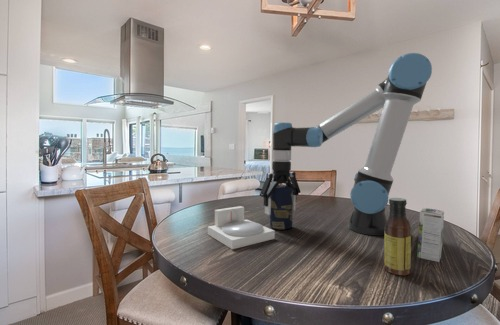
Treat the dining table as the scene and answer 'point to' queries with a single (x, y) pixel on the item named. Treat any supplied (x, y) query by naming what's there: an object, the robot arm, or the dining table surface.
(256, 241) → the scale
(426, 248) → the syrup box
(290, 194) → the canister
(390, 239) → the sauce bottle
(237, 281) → the dining table surface
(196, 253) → the dining table surface
